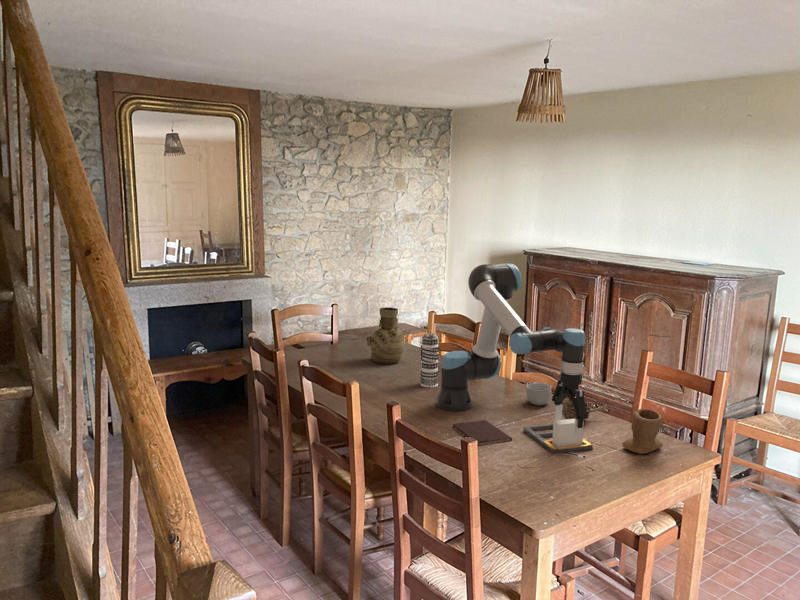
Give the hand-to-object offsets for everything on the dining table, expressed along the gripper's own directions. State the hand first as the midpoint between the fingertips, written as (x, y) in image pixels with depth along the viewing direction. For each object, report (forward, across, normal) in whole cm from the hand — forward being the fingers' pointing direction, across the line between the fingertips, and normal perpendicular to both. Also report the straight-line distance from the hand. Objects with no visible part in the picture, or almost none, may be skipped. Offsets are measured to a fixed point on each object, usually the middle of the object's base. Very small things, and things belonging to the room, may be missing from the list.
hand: (567, 428), depth 223 cm
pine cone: (+8, +23, -22) cm, 32 cm away
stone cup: (+7, -9, -27) cm, 29 cm away
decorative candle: (+9, +84, +24) cm, 88 cm away
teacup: (+8, +48, -15) cm, 51 cm away
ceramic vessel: (+9, +130, +33) cm, 134 cm away
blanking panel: (+7, 0, 0) cm, 7 cm away
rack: (+7, +7, 0) cm, 10 cm away
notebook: (+8, +20, +25) cm, 33 cm away
